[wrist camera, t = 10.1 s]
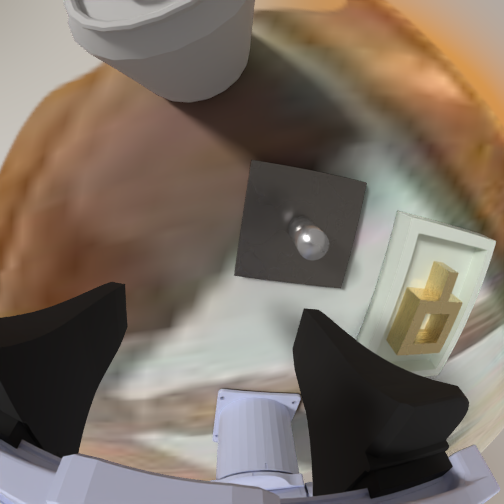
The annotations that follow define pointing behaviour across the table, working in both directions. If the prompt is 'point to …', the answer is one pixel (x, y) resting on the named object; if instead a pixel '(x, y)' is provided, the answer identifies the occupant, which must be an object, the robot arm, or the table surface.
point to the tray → (424, 283)
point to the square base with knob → (298, 225)
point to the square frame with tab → (426, 302)
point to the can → (168, 42)
